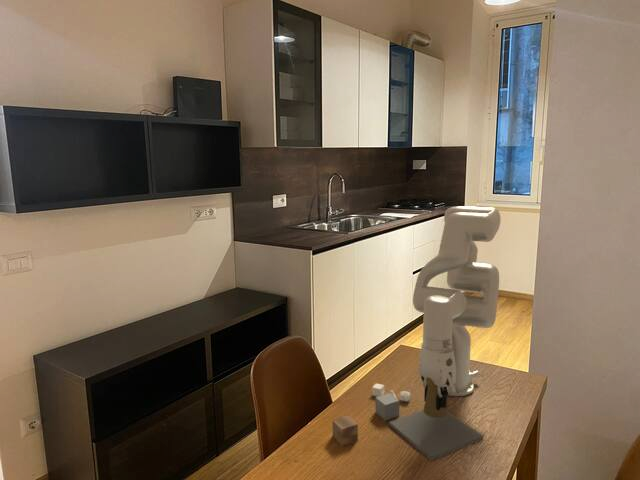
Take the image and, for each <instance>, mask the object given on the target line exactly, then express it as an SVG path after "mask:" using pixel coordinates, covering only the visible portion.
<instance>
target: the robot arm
mask: <svg viewBox="0 0 640 480" xmlns="http://www.w3.org/2000/svg"><path fill="white" fill-rule="evenodd" d="M443 219H444V226H443V231H442V234H441V239H440V245H439V250H438V253H437V255H435V256H434V257H433V258H432V259H431V260H428V262H427V263H426V264H425V265H424V266H423V267H422V268H421V270H420V271H419V273H418V276H417V279H416V281H415V286H414V290H413V296H412V305H413V308H414V309H415V311H417V312H419V313H421V314H423V320H422V321H423V322H422V324H423V325H422V343H421V347H420V353H419V360H418V361H419V363H418V364H419V365H418V369H417V373H418V374H419V377H420V379H421V381H422V386H423V388H424V395H423V396H424V400H423V401H424V402H425V400H426V395H427V389H428V385H427V383H426V378H427V377H429V378H430V379H432V381H433V382H434V384H435V385H437V390H438V396H436V409H437V410H440V408H441V407H442V408H446V409H447V403H448V402H447V398H448V396H450V397H451V396H452V397H464V396H468V395H471V394H472V393H473V392H474V389H475V388H474V387H475V385H474V383H473V382H472V380H473V379H474V378H478V377H480V372H479V371H478V370H474V371H472V372H471V369H470V364H471V363H470V362H471V360H470V359H471V345H472V344H471V342H472V338H471V335H470V332H469V331H468V328H466V327H472V328H482V329H491V328H492V327H493V326H494V324H495V323H496V317H497V309H498V300H499V289H500V272H499V270H498V268H497V266H496V265H494V264H491V263H485V262H478V261H477V260H478V250H479V249H478V246H477V245H476V242H482V243H485V242H486V243H489V242H491V241H493V240H494V238H495V236H496V235H497V233H498V231H499V230H500V229H499V228H500V226H501V213H500V211H499V210H498V209H497V208H496V207H491V206H490V207H487V206H465V205H464V206H463V205H462V206H460V205H459V206H458V205H457V206H451V207H449V208H447V209H446V210H445V212H444V218H443ZM444 273H447V275H446V283H447V286H448V287H449V288H444V287H436V286H428V285H429V283H430V282H431V280H432V279H434V278H436V277H437V276H440V275H441V274H444ZM464 292H469V293H476V294H480V295H482V296H478V295H470V294H464ZM442 388H444V390H443V391H442Z"/></svg>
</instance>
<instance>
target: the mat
mask: <svg viewBox="0 0 640 480" xmlns="http://www.w3.org/2000/svg"><path fill="white" fill-rule="evenodd" d="M388 426H389V427H391V429H393V431H396V432H397V434H399V436H401V437H402V438H404V439H405V440H406V441H407V442H408V443H409V444H410V445H412V446H413V447H414V448H415V449H417V451H419V452H420V453H421V454H422V455H423V456H425V457H426V458H427V459H429V460H430V461H434V460H436V459H438V458H441V457H444V456H446V455H449V454H450V453H453V452H455V451H457V450H460V449H462V448H463V449H464V448H465V447H468V446H470V445H472V444H475V443H477V442H479V441H481V440H484V436H483V435H482V434H481V433H479V431H477V430H476V429H474V428H472V427H471V426H469V425H468V424H466V422H463V421H462V420H460V419H459V418H457V416H455V415H453V414H452V413H450V412H449V411H447V410H446V415H445V416H444V417H440V418H434V417H430V416H428V415H426V414H425V413H424V409H422V410H420V411H415V412H414V413H410V414H408V415H405V416H402V417H399V418H397V419H394V420H391V421H389V422H388Z"/></svg>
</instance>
